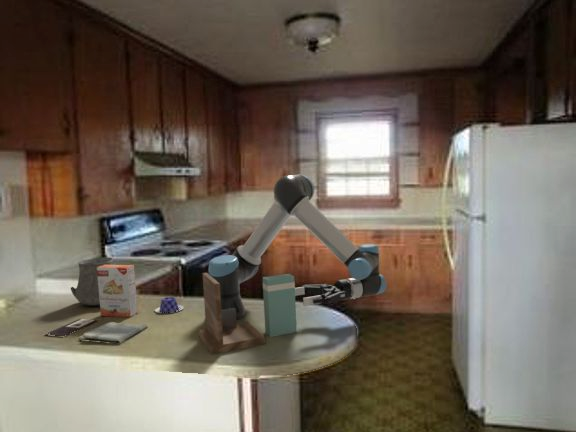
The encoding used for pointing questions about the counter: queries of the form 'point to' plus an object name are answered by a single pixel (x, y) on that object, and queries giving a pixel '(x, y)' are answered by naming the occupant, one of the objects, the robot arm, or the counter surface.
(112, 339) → the dish towel
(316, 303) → the robot arm
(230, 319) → the bookend
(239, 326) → the brown angled piece
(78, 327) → the chocolate bar
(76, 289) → the vessel
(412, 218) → the counter surface
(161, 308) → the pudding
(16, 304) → the counter surface
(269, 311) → the book
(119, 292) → the cracker box
